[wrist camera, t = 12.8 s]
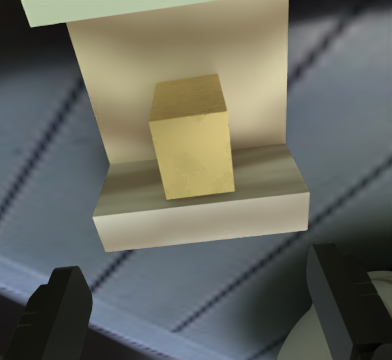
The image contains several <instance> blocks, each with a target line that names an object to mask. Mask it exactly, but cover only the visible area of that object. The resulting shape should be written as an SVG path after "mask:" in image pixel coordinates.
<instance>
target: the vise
mask: <svg viewBox="0 0 392 360" xmlns="http://www.w3.org/2000/svg"><path fill="white" fill-rule="evenodd" d="M66 24H67V27H68V31H69V34H70V37H71V40H72V43H73V47H74V50H75V53H76V56H77V60H78V63H79V66H80V69H81V72H82V76H83V79H84V82H85V85H86V89H87V92H88V95H89V98H90V101H91V105H92V108H93V111H94V114H95V118H96V121H97V124H98V127H99V130H100V134H101V137H102V140H103V143H104V147H105V150H106V153H107V156H108V160H109V163H110V167H109V170H108V173H107V176H106V178H105V181H104V184H103V187H102V190H101V193H100V196H99V199H98V202H97V205H96V208H95V211H94V214H93V220H94V223H95V225H96V228H97V231H98V233H99V236H100V238H101V241H102V244H103V246H104V249H105V252H112V251H121V250H130V249H139V248H148V247H157V246H167V245H176V244H185V243H194V242H203V241H212V240H222V239H231V238H240V237H249V236H258V235H267V234H276V233H286V232H295V231H304V230H307V226H308V212H309V198H310V191H309V189H308V187H307V185H306V183H305V181H304V179H303V177H302V175H301V173H300V171H299V169H298V167H297V165H296V163H295V161H294V159H293V157H292V155H291V153H290V151H289V149H288V147H287V145H286V99H287V50H288V0H217V1H210V2H203V3H196V4H189V5H182V6H175V7H168V8H161V9H154V10H147V11H140V12H133V13H126V14H119V15H112V16H105V17H98V18H91V19H84V20H77V21H71V22H66ZM214 74H218V76H219V80H220V84H221V88H222V92H223V96H224V100H225V104H226V108H227V113H228V124H229V135H230V146H231V156H232V167H233V178H234V189H235V191H233V192H225V193H217V194H209V195H201V196H193V197H185V198H177V199H169V200H167V199H166V195H165V191H164V186H163V182H162V178H161V173H160V169H159V165H158V160H157V156H156V152H155V147H154V143H153V139H152V134H151V130H150V126H149V117H150V113H151V108H152V103H153V98H154V93H155V89H156V84H157V83H159V82H166V81H173V80H180V79H187V78H194V77H200V76H207V75H214Z"/></svg>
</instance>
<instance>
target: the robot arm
mask: <svg viewBox="0 0 392 360" xmlns="http://www.w3.org/2000/svg"><path fill="white" fill-rule="evenodd" d="M306 279H307V285H308V289H309V292H310V295H311V298H312V301H313V304H314V307H315V310H316V313H317V316H318V318H319V321H320V324H321V327H322V330H323V333H324V336H325V339H326V342H327V345H328V348H329V350H330V353H331V356H332V359H333V360H392V318H391V316H390V314H389V312H388V310H387V308H386V306H385V305H384V303H383V301H382V299H381V297H380V295H378V292H377V290H376V288H375V286H374V284H372V280H371V279H370V277H369V275H368V273H367V271H366V269H365V267H364V266H363V265H362V264H361V263H359V262H358V261H357V260H356V259H355V258H354V257H353V256H352V255H348V256H340V254H339V252H338V250H337V248H336V246H335V244H334V242H333V241H326V242H316V243H309V246H308V256H307V268H306ZM92 304H93V301H92V294H91V291H90V289H89V287H88V285H87V282H86V280H85V278H84V276H83V274H82V272H81V269H80V268H79V267H78V266H70V267H60V268H55V269H54V270H53V272H52V274H51V277H50V279H49V282H48V284H45V285H40V286H39V287H38V289H37V290H36V291H35V292H34V293H33V294H32V296H31V297H30V298H29V300H28V302H27V305H26V307H25V309H24V311H23V315H22V316H21V318H20V321H19V323H18V327H17V328H16V330H15V332H14V334H13V337H12V339H11V341H10V343H9V346H8V348H7V350H6V352H5V355H4V357H3V360H79V358H80V354H81V350H82V346H83V342H84V339H85V335H86V331H87V327H88V323H89V319H90V315H91V311H92Z"/></svg>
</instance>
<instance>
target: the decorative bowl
mask: <svg viewBox="0 0 392 360" xmlns="http://www.w3.org/2000/svg"><path fill="white" fill-rule="evenodd" d="M367 273H368V275H369V277H370V279H371V280H372V284H374V286H375V288H376V290H377V292H378V295H380V297H381V299H382V301H383V303H384V305H385V306H386V308H387V310H388V312H389V314H390V316H391V318H392V271H372V272H367ZM276 360H333V359H332V356H331V353H330V350H329V348H328V345H327V342H326V339H325V336H324V333H323V330H322V327H321V324H320V321H319V318H318V316H317V313H316V310H315V307H314V304H312V305H311V308H310V310H309V311H307V312H306V313H305V314H304V315H303V316H302V318H301V319H300V320H299V321H298V322H297V323H296V325H295V326H294V327H293V329H292V330H291V332H290V333H289V335H288V336H287V338H286V340H285V342H284V344H283V346H282V348H281V350H280V352H279V354H278V357H277V359H276Z"/></svg>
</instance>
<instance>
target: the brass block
mask: <svg viewBox="0 0 392 360" xmlns="http://www.w3.org/2000/svg"><path fill="white" fill-rule="evenodd" d="M149 126H150V130H151V134H152V139H153V143H154V147H155V152H156V156H157V160H158V165H159V169H160V173H161V178H162V182H163V186H164V191H165V195H166V199H167V200H169V199H177V198H185V197H193V196H201V195H209V194H217V193H225V192H233V191H235V189H234V178H233V167H232V156H231V146H230V135H229V124H228V113H227V108H226V104H225V100H224V96H223V92H222V88H221V84H220V80H219V76H218V74H214V75H207V76H200V77H194V78H187V79H180V80H173V81H166V82H159V83H157V84H156V89H155V93H154V98H153V103H152V108H151V113H150V117H149Z"/></svg>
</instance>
